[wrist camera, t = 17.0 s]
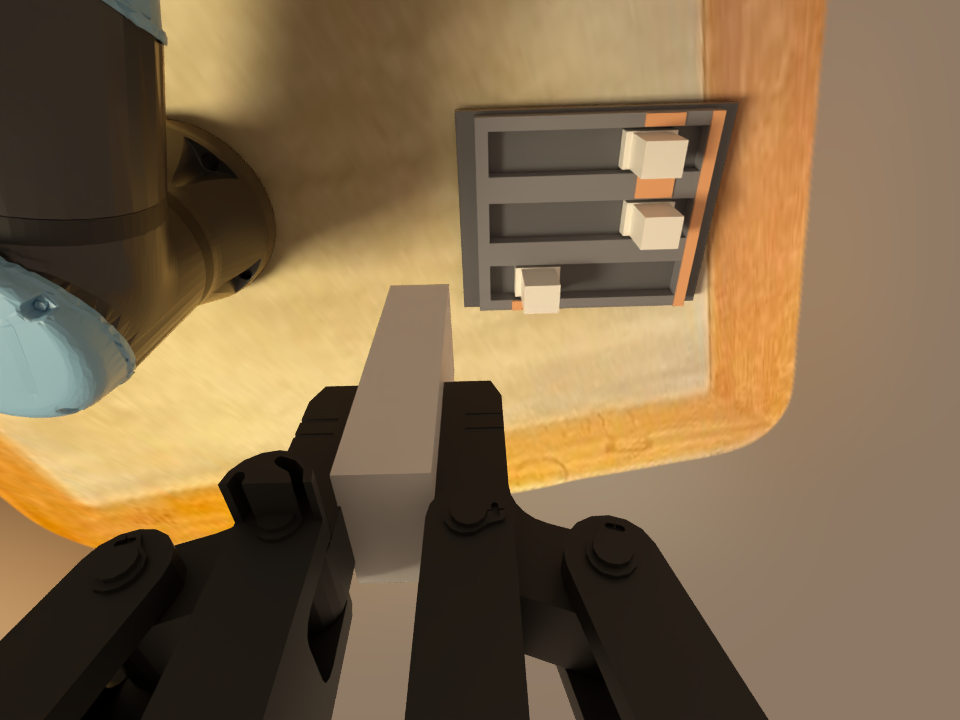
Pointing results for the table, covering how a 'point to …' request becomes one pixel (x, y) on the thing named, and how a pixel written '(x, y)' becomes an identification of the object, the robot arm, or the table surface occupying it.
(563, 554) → the robot arm
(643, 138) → the tab front
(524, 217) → the slotted block puzzle
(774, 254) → the table surface
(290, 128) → the table surface
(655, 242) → the tab mid
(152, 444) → the table surface
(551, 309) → the tab back
